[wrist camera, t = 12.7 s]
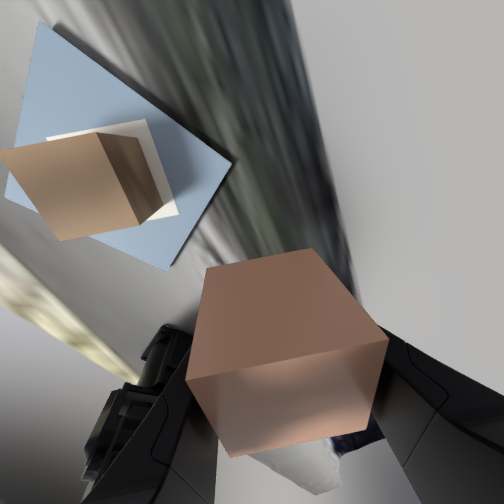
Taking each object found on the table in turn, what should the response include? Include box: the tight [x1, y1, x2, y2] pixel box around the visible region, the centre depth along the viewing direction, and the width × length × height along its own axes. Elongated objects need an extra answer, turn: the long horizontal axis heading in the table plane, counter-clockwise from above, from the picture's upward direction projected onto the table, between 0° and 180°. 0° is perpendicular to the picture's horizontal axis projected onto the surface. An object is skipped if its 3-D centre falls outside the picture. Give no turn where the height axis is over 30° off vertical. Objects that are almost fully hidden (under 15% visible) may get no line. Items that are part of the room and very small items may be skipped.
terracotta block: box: [185, 248, 389, 458], centre depth 8 cm, size 5×5×5 cm
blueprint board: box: [4, 21, 232, 272], centre depth 16 cm, size 12×13×1 cm
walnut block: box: [0, 132, 164, 241], centre depth 13 cm, size 5×5×5 cm
